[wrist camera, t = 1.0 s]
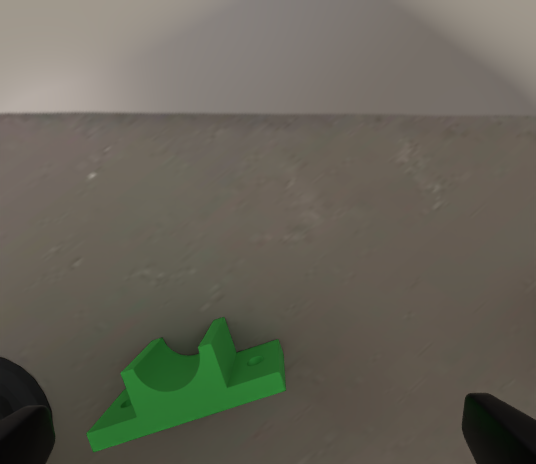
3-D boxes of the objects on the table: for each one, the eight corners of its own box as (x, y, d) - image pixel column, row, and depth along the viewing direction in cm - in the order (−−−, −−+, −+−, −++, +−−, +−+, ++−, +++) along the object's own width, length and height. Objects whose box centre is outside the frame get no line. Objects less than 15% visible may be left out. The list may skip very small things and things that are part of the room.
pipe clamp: (265, 302, 21) (264, 325, 17) (283, 353, 22) (287, 390, 17) (110, 354, 22) (67, 391, 17) (129, 404, 22) (91, 454, 17)
